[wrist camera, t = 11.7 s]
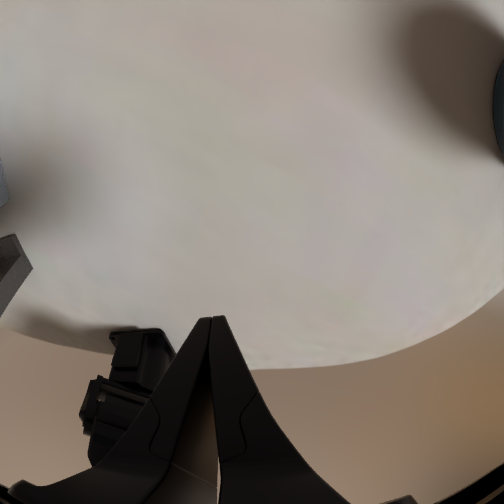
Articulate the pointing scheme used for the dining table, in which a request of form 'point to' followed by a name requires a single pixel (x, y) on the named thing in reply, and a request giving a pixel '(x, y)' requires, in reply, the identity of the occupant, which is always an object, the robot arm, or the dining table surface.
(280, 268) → the dining table surface
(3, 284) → the bookend
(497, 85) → the canister
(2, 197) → the boxed book
